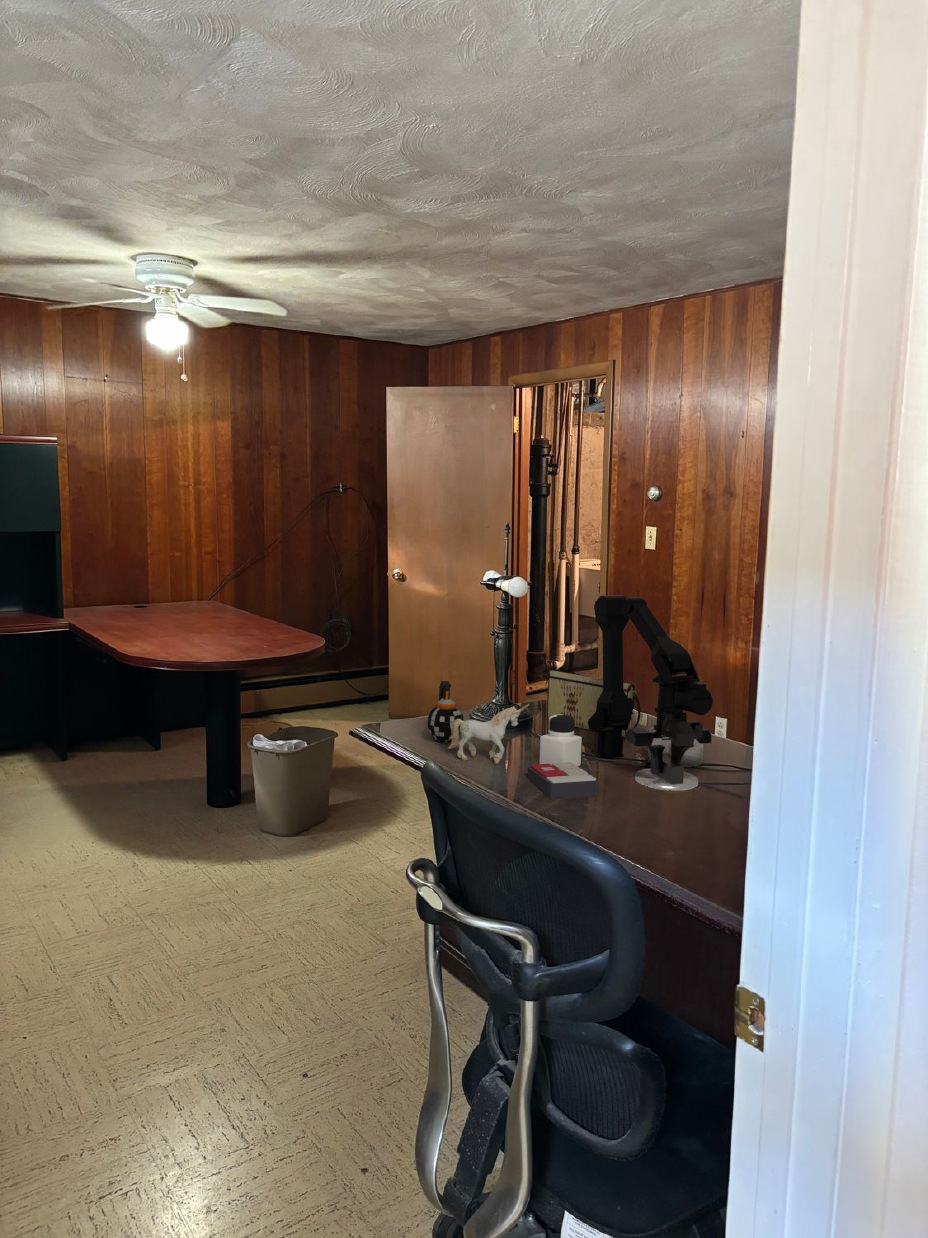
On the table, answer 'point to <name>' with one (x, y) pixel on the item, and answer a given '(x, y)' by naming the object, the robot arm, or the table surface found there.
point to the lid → (667, 776)
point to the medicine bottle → (560, 742)
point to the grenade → (443, 715)
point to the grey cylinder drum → (690, 756)
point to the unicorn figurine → (483, 732)
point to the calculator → (563, 780)
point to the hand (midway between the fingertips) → (666, 772)
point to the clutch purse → (580, 697)
